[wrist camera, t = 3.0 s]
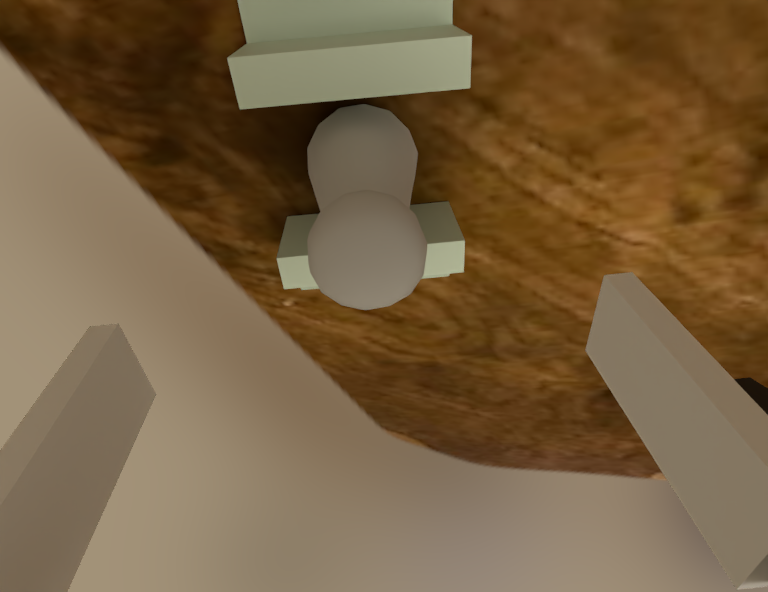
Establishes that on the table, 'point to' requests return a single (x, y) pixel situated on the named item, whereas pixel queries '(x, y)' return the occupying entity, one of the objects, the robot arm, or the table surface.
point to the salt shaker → (364, 209)
